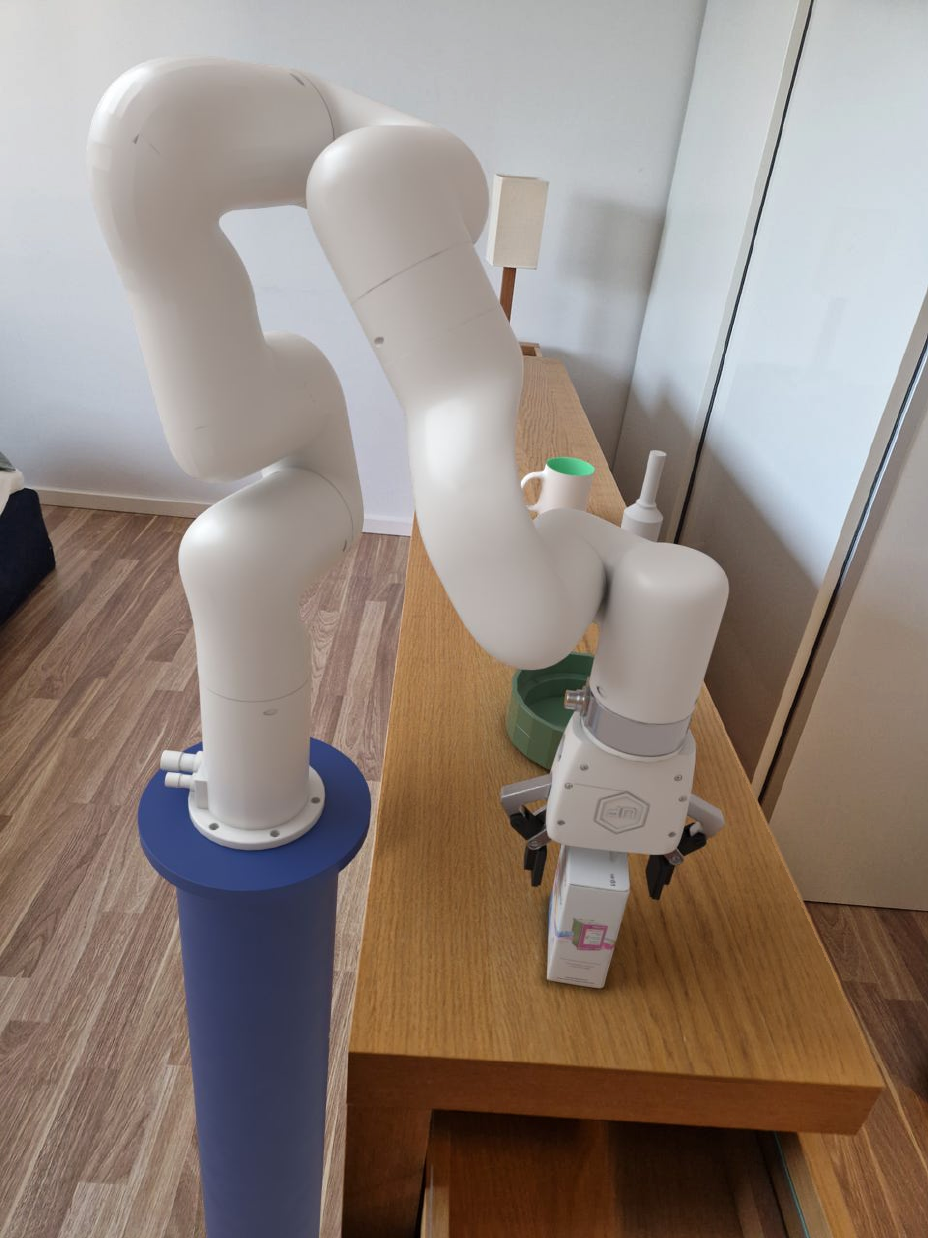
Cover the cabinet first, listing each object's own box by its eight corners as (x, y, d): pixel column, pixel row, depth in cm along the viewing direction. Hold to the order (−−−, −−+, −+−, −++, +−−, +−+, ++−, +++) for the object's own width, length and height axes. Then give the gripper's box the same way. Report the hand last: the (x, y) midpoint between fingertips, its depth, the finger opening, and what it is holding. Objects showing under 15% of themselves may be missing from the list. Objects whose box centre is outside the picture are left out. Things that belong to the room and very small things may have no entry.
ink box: (546, 900, 79) (568, 803, 73) (601, 908, 79) (628, 812, 73) (543, 981, 72) (568, 882, 65) (604, 991, 71) (634, 892, 65)
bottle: (608, 630, 120) (647, 460, 107) (594, 611, 125) (631, 445, 112) (642, 629, 122) (685, 461, 109) (628, 610, 126) (668, 445, 113)
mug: (519, 532, 144) (529, 473, 139) (509, 511, 151) (518, 454, 146) (588, 534, 147) (600, 476, 141) (575, 513, 153) (586, 457, 148)
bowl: (504, 773, 93) (512, 729, 90) (505, 684, 107) (511, 644, 104) (654, 790, 93) (667, 747, 90) (635, 700, 107) (646, 660, 104)
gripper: (516, 732, 59) (486, 905, 68) (770, 760, 59) (707, 929, 68) (515, 669, 65) (488, 835, 74) (744, 695, 65) (690, 856, 74)
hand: (593, 880), depth 71 cm, fingers open, 9 cm apart
